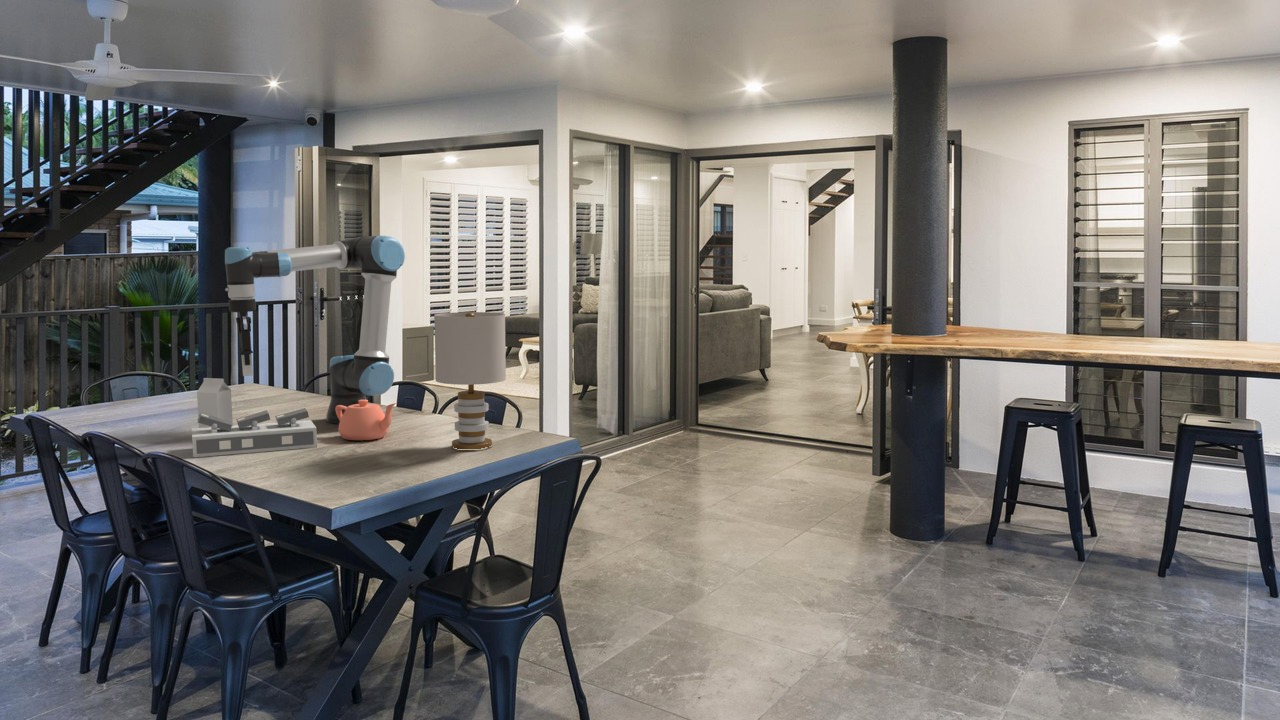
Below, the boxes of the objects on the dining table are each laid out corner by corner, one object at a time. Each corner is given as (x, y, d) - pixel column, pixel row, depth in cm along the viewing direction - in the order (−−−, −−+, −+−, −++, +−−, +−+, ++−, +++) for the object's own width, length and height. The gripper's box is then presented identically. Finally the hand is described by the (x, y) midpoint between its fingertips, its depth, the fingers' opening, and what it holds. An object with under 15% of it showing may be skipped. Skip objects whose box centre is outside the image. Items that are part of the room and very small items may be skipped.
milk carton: (219, 440, 292) (216, 380, 290) (199, 439, 293) (196, 379, 291) (233, 435, 299) (230, 377, 296) (213, 434, 300) (210, 376, 298)
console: (311, 438, 294) (310, 416, 294) (317, 447, 281) (316, 424, 281) (192, 448, 280) (191, 425, 279) (193, 457, 267) (192, 434, 266)
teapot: (409, 435, 300) (408, 398, 299) (383, 444, 286) (382, 405, 284) (350, 431, 306) (349, 394, 305) (322, 440, 292) (320, 401, 291)
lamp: (431, 443, 289) (428, 311, 284) (497, 438, 297) (495, 310, 292) (444, 456, 269) (441, 316, 265) (514, 451, 278) (513, 314, 273)
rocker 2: (307, 415, 289) (304, 407, 289) (309, 418, 284) (307, 410, 283) (277, 423, 286) (274, 415, 285) (279, 427, 280) (276, 419, 280)
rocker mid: (269, 417, 285) (266, 409, 284) (271, 421, 279) (268, 412, 278) (238, 426, 281) (235, 418, 280) (239, 430, 275) (237, 422, 275)
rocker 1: (228, 429, 280) (231, 421, 280) (229, 433, 274) (232, 424, 274) (196, 420, 276) (200, 412, 276) (197, 424, 270) (200, 415, 270)
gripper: (226, 297, 284) (233, 373, 288) (229, 300, 273) (236, 379, 276) (253, 296, 288) (259, 371, 291) (257, 299, 276) (263, 377, 280)
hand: (248, 375), depth 284 cm, fingers closed
